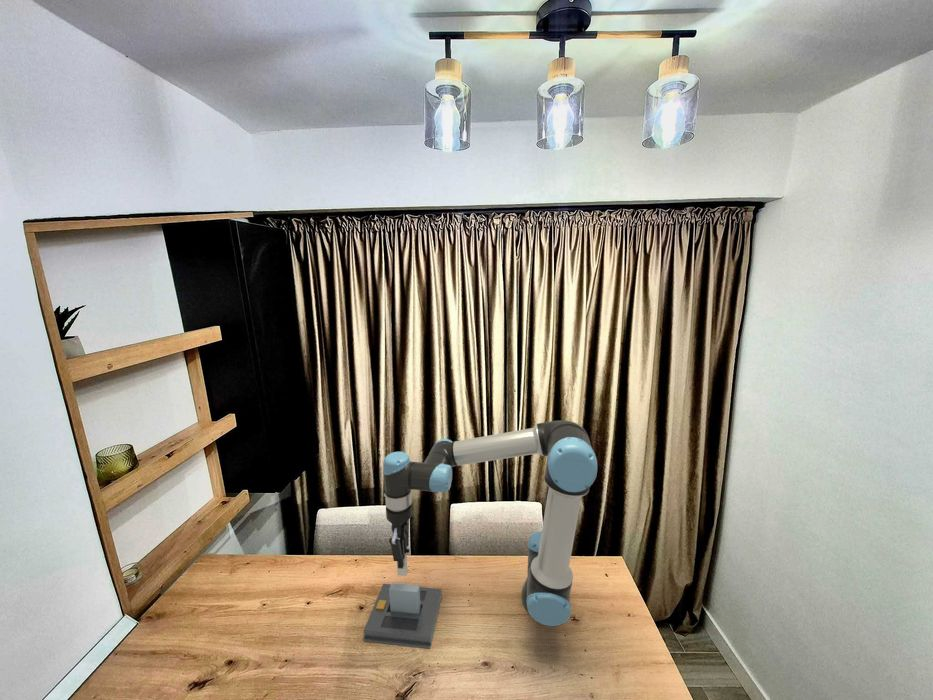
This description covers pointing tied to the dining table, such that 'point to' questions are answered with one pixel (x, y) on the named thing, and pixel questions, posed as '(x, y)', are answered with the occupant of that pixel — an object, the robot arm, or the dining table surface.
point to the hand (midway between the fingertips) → (402, 573)
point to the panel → (405, 598)
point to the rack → (403, 621)
